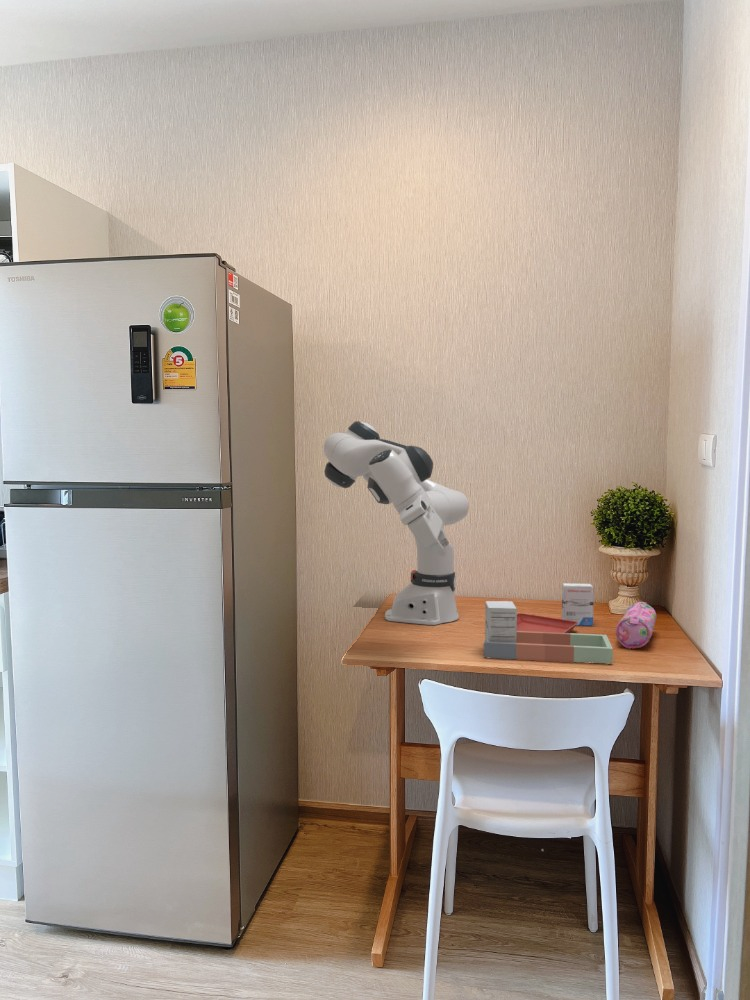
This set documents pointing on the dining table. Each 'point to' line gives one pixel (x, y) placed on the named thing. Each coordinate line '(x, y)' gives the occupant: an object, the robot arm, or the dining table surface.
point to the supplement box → (500, 621)
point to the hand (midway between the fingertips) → (445, 549)
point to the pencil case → (636, 625)
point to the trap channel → (553, 647)
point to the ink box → (578, 603)
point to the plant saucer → (543, 624)
